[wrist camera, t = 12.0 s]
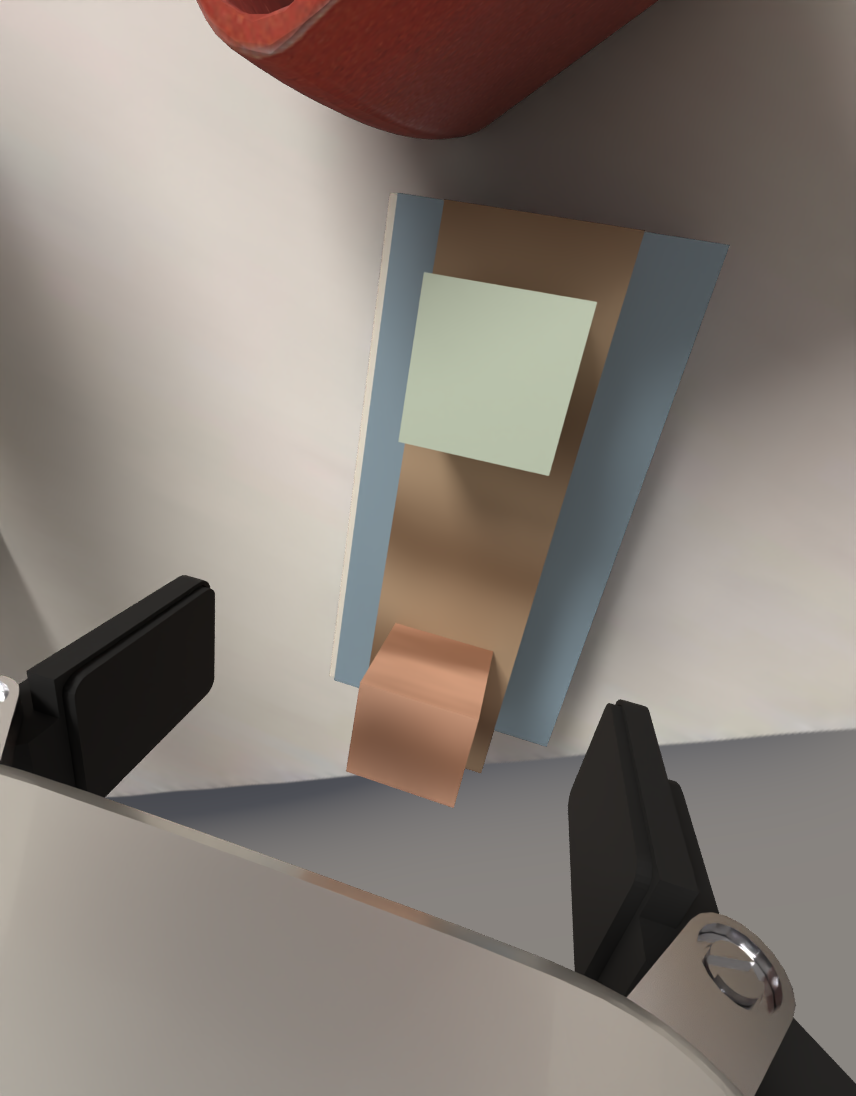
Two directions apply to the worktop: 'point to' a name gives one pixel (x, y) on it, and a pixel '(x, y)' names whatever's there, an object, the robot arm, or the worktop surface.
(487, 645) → the brown wooden block
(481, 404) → the pale green cube
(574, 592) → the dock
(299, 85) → the plant pot
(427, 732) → the copper orange cube
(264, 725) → the worktop surface
